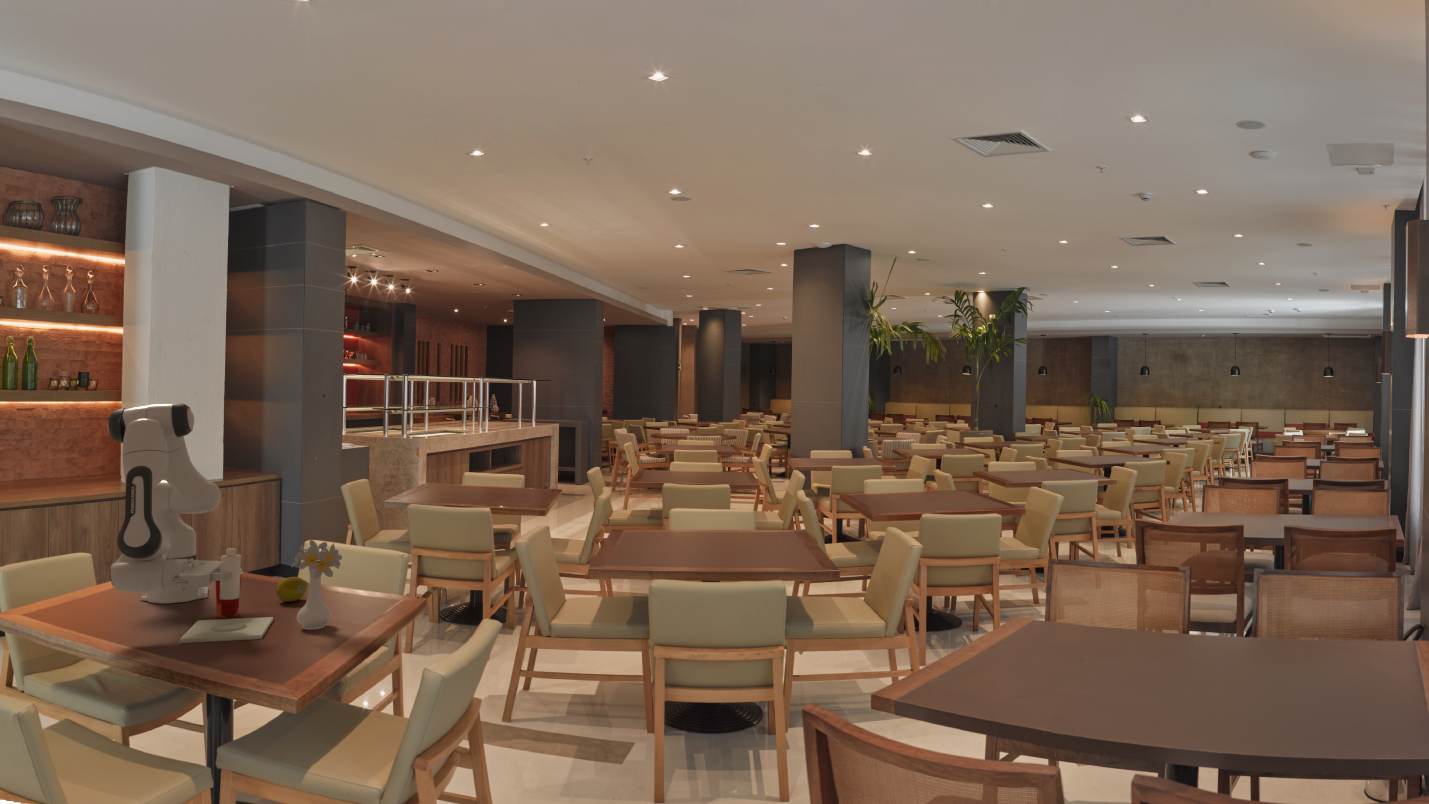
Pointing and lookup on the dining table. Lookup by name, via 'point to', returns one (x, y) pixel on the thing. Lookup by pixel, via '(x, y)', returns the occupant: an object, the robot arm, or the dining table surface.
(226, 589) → the cream bottle
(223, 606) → the paper cup
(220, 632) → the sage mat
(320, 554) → the flower vase
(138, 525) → the robot arm
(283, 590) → the lemon
